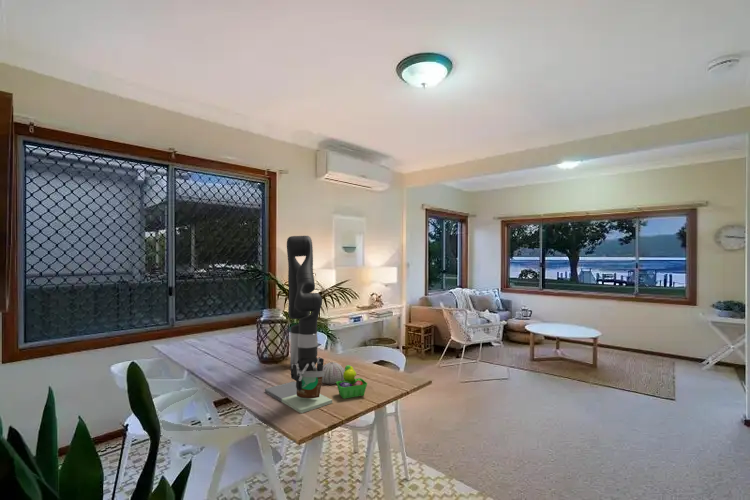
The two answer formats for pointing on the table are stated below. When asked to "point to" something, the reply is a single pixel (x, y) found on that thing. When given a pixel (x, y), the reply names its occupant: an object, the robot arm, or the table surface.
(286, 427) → the table surface
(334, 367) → the sea urchin shell
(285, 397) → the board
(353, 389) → the fruit basket
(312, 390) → the food container
